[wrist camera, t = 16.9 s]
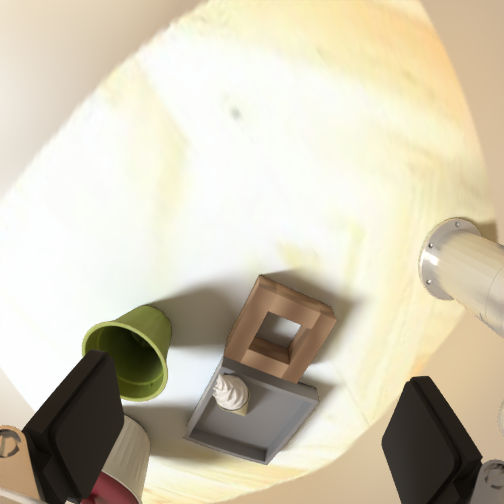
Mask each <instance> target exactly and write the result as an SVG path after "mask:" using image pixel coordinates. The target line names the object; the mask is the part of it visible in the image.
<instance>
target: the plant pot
mask: <svg viewBox="0 0 504 504" xmlns="http://www.w3.org/2000/svg"><path fill="white" fill-rule="evenodd" d="M134 332H135V333H137V334H138V335H139V336H138V337H137V336H136V334H135V333H134ZM171 334H172V328H171V324H170V322H169V320H168V318H167V317H166V316H165V314H164V313H163V312H161V311H160V310H158V309H155V308H153V307H150V306H139V307H137V308H135V309H133V310H131V311H130V312H128V313H126V314H124V315H123V316H121V317H119V318H118V319H116V320H113V321H108V322H102V323H99V324H97V325H95V326H93V327H92V328H91V329H90V330H89V331H88V332H87V333H86V335H85V336H84V339H83V343H82V356H83V357H84V356H85V355H86V354H87V353H88V351H89V350H91V349H95V350H100V351H104V352H108V353H109V355H110V357H111V358H113V359H114V361H115V368H116V374H117V380H118V386H119V392H120V398H121V399H124V400H128V401H134V402H142V401H148V400H151V399H153V398H155V397H157V396H158V395H159V394H160V393H161V392H162V391H163V390H164V388H165V386H166V383H167V379H168V369H167V364H166V358H167V353H168V348H169V344H170V339H171Z"/></svg>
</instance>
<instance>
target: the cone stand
mask: <svg viewBox="0 0 504 504" xmlns="http://www.w3.org/2000/svg"><path fill="white" fill-rule="evenodd" d="M268 311H269V312H272V313H274V314H276V315H279V316H281V317H283V318H286V319H288V320H290V321H293V322H295V323H298V324H300V325H301V327H300V328H299V330H298V332H297V333H296V335H295V337H294V338H293V340H292V342H291V343H290V345H289V347H288V348H285V347H282V346H279V345H277V344H274V343H272V342H270V341H267V340H265V339H262V338H260V337H257V336H255V335H256V333H257V331H258V329H259V328H260V326H261V324H262V322H263V320H264V318H265V316H266V315H267V313H268ZM336 322H337V319H336V317H335V314H334V312H333V310H332V308H331V306H328V305H326V304H324V303H322V302H319V301H317V300H315V299H313V298H310V297H308V296H306V295H303V294H301V293H299V292H297V291H294V290H292V289H290V288H288V287H286V286H283V285H281V284H279V283H277V282H274V281H272V280H270V279H268V278H265V277H263V276H261V275H259V277H258V279H257V281H256V283H255V285H254V287H253V289H252V291H251V293H250V295H249V297H248V299H247V301H246V303H245V305H244V307H243V309H242V311H241V313H240V315H239V317H238V319H237V321H236V323H235V324H234V326H233V328H232V330H231V332H230V334H229V336H228V338H227V341H226V346H225V350H224V355H223V356H225V357H227V358H230V359H232V360H235V361H237V362H240V363H242V364H245V365H247V366H250V367H252V368H255V369H257V370H260V371H263V372H265V373H268V374H271V375H273V376H276V377H279V378H281V379H284V380H287V381H290V382H293V383H295V384H297V382H298V381H299V379H300V378H301V377H302V375H303V374H304V372H305V371H306V369H307V368H308V366H309V365H310V363H311V361H312V360H313V358H314V357H315V355H316V354H317V352H318V351H319V349H320V347H321V346H322V344H323V343H324V341H325V340H326V338H327V336H328V335H329V333H330V331H331V330H332V328H333V327H334V325H335V323H336Z"/></svg>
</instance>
